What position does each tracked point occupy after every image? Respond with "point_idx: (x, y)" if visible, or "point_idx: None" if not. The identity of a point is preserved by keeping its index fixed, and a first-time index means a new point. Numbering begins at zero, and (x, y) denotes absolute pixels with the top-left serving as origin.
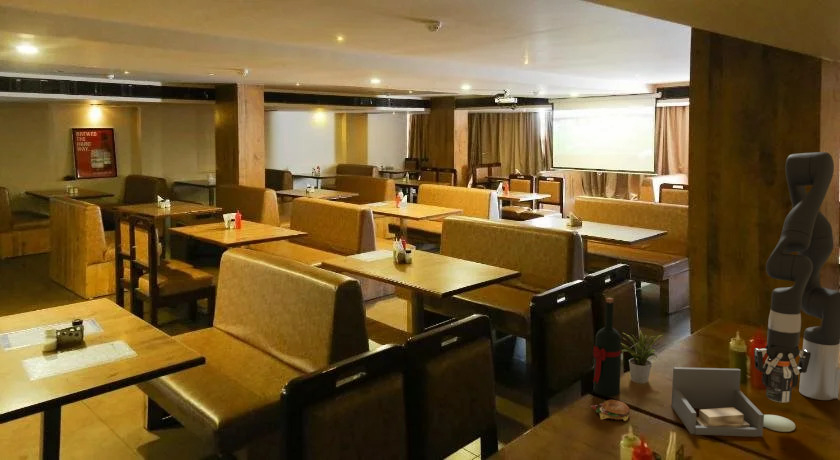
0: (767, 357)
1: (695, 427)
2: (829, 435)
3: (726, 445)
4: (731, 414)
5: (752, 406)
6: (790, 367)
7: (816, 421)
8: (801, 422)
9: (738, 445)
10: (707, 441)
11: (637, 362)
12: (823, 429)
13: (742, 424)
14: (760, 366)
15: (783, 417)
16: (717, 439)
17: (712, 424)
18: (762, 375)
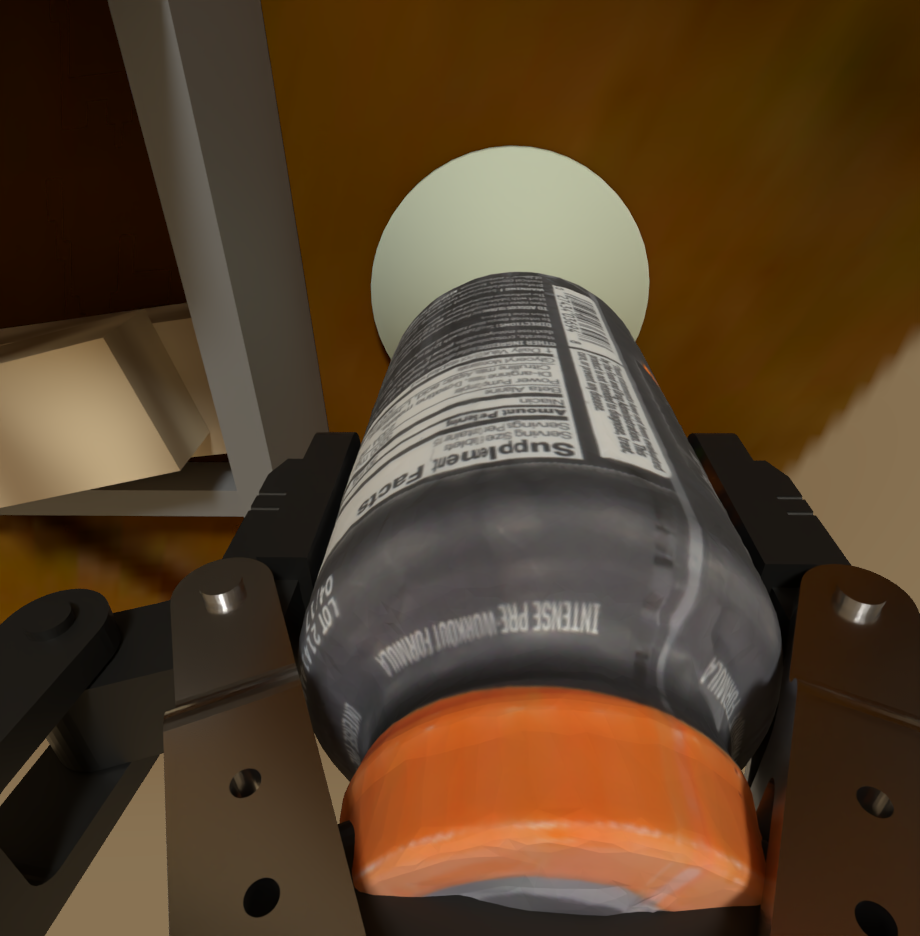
0: (170, 840)
1: None
2: (800, 440)
3: (113, 580)
4: (84, 472)
5: (238, 448)
6: (749, 747)
7: (896, 210)
8: (742, 243)
9: (176, 577)
10: (12, 549)
11: None
12: (832, 356)
13: (202, 450)
14: (58, 819)
15: (617, 202)
16: (65, 527)
17: None
18: (236, 540)
